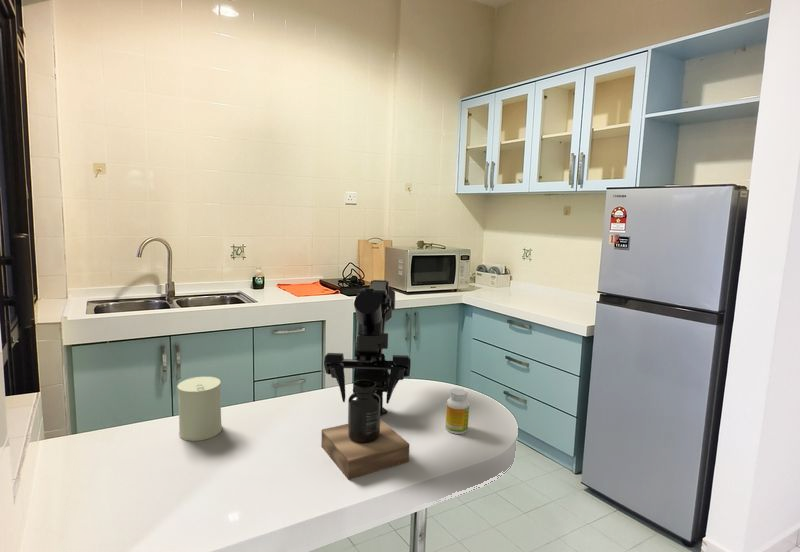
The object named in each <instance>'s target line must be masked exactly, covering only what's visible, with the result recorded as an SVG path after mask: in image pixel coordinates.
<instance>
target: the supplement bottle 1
mask: <svg viewBox="0 0 800 552" xmlns="http://www.w3.org/2000/svg"><path fill="white" fill-rule="evenodd" d="M347 403H348V404H347V405H348V406H347V408H348V409H347V424H348V436H349V438H350V439H351V440H352V441H354V442H357V443H370V442H373V441H375V440H377V439H378V437H379V435H380V419H381V415H380V397H379V396H378V395H377V394H376V383H375V382H374V381H372V380H367V379H363V380H357V381H355V382H354V381H353V383H352V394H350V395H349V397H348V401H347Z"/></svg>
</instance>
